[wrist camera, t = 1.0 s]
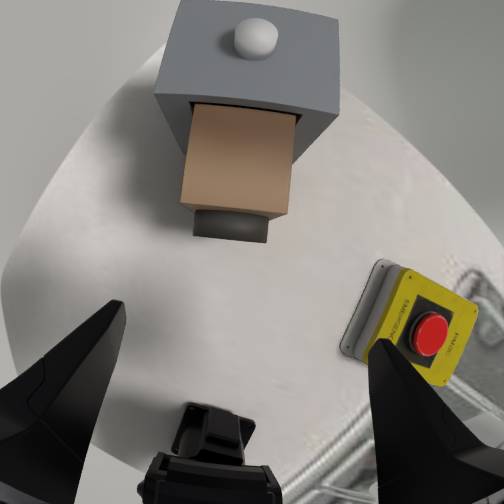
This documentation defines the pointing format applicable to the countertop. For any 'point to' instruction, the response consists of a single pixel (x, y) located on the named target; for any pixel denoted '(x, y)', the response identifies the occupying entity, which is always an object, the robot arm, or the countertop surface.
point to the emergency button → (411, 321)
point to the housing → (251, 65)
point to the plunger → (237, 171)
